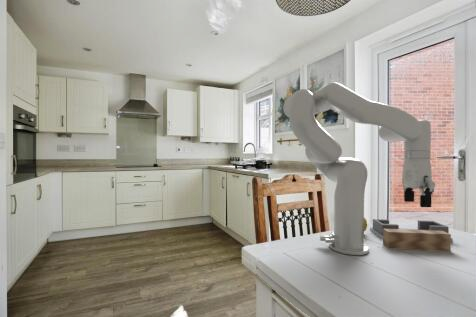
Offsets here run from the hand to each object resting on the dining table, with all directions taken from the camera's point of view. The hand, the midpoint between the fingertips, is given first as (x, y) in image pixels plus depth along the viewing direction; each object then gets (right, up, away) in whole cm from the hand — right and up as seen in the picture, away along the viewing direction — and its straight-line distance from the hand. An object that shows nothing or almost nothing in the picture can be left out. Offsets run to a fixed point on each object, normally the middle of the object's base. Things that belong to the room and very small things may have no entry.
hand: (416, 204), depth 89 cm
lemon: (-13, -15, +16) cm, 25 cm away
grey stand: (+6, -15, +14) cm, 21 cm away
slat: (0, -16, 0) cm, 16 cm away
